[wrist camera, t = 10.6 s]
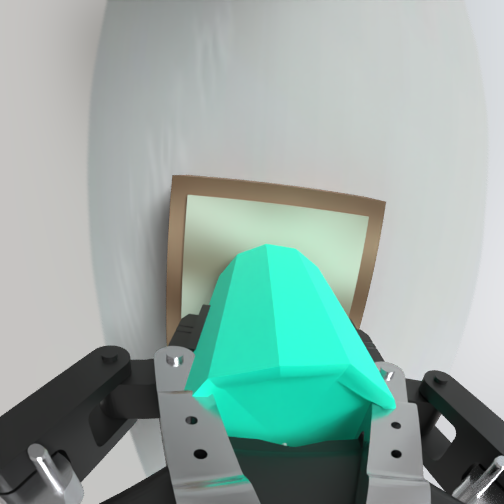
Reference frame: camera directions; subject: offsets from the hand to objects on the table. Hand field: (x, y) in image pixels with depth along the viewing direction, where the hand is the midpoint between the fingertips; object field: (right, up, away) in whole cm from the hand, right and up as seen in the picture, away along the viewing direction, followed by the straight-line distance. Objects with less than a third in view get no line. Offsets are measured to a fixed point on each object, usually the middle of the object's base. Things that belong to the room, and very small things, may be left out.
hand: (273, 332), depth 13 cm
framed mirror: (0, +2, +8) cm, 9 cm away
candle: (0, +1, +4) cm, 4 cm away
